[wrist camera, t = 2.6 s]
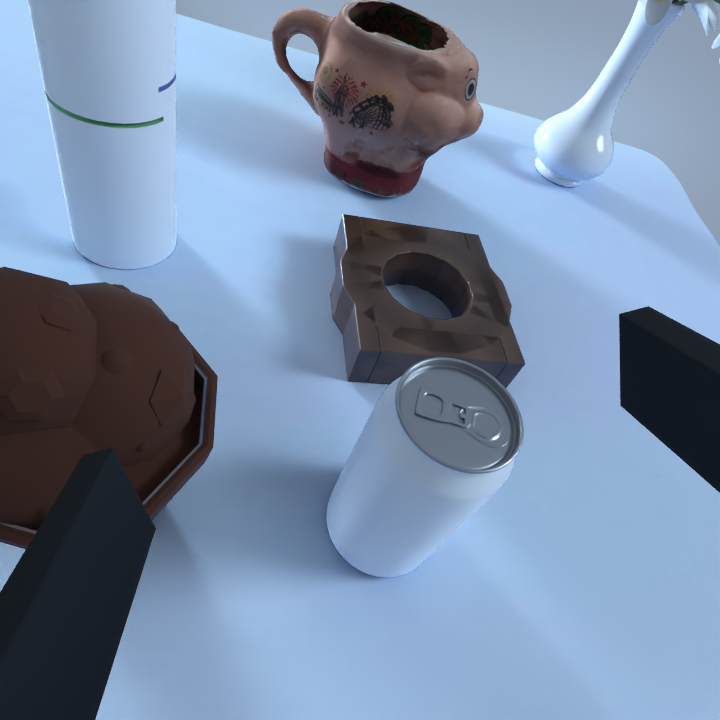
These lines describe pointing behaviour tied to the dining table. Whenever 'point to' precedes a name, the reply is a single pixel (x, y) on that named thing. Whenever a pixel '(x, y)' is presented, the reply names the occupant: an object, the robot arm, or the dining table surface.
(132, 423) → the ice cream bowl
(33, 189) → the dining table surface
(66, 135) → the cylindrical container
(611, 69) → the flower vase
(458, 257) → the holder
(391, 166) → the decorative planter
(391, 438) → the can
